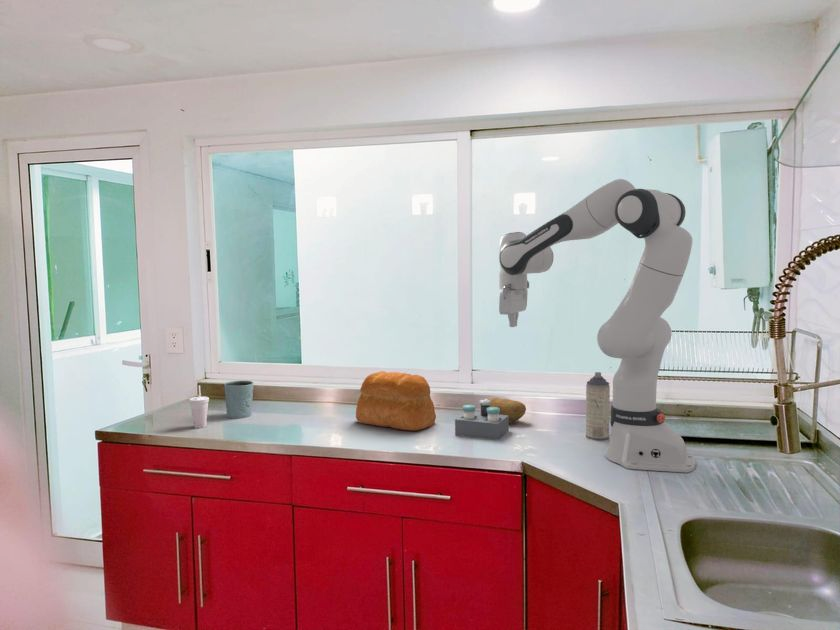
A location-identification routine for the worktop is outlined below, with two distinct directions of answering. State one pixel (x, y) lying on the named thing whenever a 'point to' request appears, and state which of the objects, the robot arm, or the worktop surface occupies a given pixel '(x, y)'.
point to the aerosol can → (597, 408)
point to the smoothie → (199, 410)
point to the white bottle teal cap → (493, 413)
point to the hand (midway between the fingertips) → (513, 326)
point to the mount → (482, 424)
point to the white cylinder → (469, 411)
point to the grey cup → (239, 399)
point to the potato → (509, 408)
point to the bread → (396, 401)
